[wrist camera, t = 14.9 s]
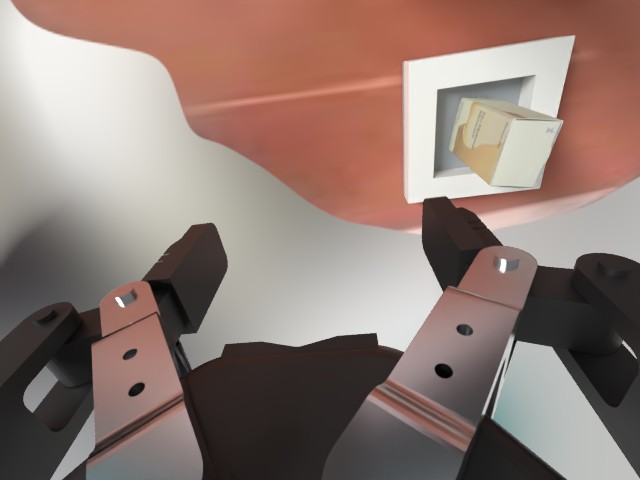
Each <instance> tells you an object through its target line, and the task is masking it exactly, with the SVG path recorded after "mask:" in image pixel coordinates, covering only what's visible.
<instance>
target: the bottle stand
mask: <svg viewBox="0 0 640 480" xmlns="http://www.w3.org/2000/svg"><path fill="white" fill-rule="evenodd" d="M574 39H575V35H572V36H559V37H550V38H544V39H538V40H531V41H525V42H519V43H513V44H507V45H500V46H494V47H488V48H482V49H476V50H469V51H463V52H457V53H451V54H444V55H438V56H432V57H426V58H420V59H413V60H407V61H402V115H403V194H404V196H405V198H406V200H407V202H408V204H409V203H417V202H423V201H424V199H425V198H433V197H442V196H447V197H448V199H452V198H461V197H469V196H478V195H487V194H496V193H504V192H513V191H522V190H530V189H517V188H504V187H491V186H490V185H488V184H487V183H486V182H485V181H484V180H483V179H482V178H481V177H479V176H478V175H477V174H476V173H475V172H474V171H473V170H472V169H470V168H469V167H468V166H467V165H466V164H465V163H464V162H462V161H461V160H460V159H459V158H458V157H457V156H456V155H455V154H453V153H452V152H451V151H450V150H449V144H450V139H451V135H452V130H453V126H454V122H455V119H456V115H457V111H458V108H459V104H460V101H461V98H462V97H485V98H497V99H500V100H503V101H506V102H509V103H512V104H515V105H518V106H521V107H524V108H527V109H530V110H533V111H536V112H539V113H542V114H545V115H548V116H551V117H554V118H556V117H557V113H558V108H559V104H560V100H561V95H562V91H563V87H564V83H565V78H566V74H567V70H568V65H569V61H570V57H571V52H572V48H573V44H574ZM544 169H545V166H544V168H543V170H542V173H541V175H540V177H539V180H538V182H537V184H536V187H535V188H534V189H539V188H540V186H541V182H542V177H543V173H544Z"/></svg>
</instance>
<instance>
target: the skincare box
mask: <svg viewBox="0 0 640 480" xmlns="http://www.w3.org/2000/svg"><path fill="white" fill-rule="evenodd" d="M562 124H563V120H560V119H557V118H554V117H551V116H548V115H545V114H542V113H539V112H536V111H533V110H530V109H527V108H524V107H521V106H518V105H515V104H512V103H509V102H506V101H503V100H500V99H497V98H485V97H462V98H461V101H460V104H459V108H458V111H457V115H456V119H455V122H454V126H453V130H452V135H451V139H450V144H449V150H450V151H451V152H452V153H453V154H455V155H456V156H457V157H458V158H459V159H460V160H461V161H462V162H464V163H465V164H466V165H467V166H468V167H469V168H470V169H472V170H473V171H474V172H475V173H476V174H477V175H478V176H479V177H481V178H482V179H483V180H484V181H485V182H486V183H487V184H488V185H490V186H491V187H504V188H517V189H534V188H535V187H536V184H537V182H538V180H539V177H540V175H541V173H542V170H543V168H544V166H545V164H546V162H547V160H548V158H549V155H550V153H551V150H552V147H553V145H554V143H555V140H556V138H557V135H558V133H559V131H560V129H561V126H562Z"/></svg>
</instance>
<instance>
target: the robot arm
mask: <svg viewBox="0 0 640 480" xmlns="http://www.w3.org/2000/svg"><path fill="white" fill-rule="evenodd" d="M422 244H423V249H424V252H425V254H426V256H427V258H428V261H429V263H430V265H431V267H432V269H433V271H434V273H435V276H436V278H437V280H438V282H439V284H440V286H441V288H442V290H443V294H442V296H441V297H440V299H439V300H438V302H437V304H436V305H435V306H434V308H433V310H432V311H431V313H430V314H429V316H428V317H427V319H426V320H425V322H424V323H423V325H422V326H421V328H420V329H419V331H418V333H417V334H416V336H415V337H414V339H413V340H412V342H411V343H410V345H409V346H408V348H407V349H406V351H405V352H402V351H400V350H397V349H393V348H390V347H386V346H380V345H378V340H377V334H376V333H371V334H357V335H344V336H336V337H332V338H329V339H325V340H322V341H319V342H315V343H312V344H308V345H304V346H301V347H293V346H286V345H279V344H273V343H266V342H249V343H236V344H226V345H225V347H224V350H223V352H222V355H221V357H219V358H216V359H213V360H211V361H208V362H206V363H204V364H202V365H200V366H198V367H197V368H195V369H193V370H192V368H191V366H190V363H189V361H188V358H187V356H186V354H185V351H184V349H183V346H182V344H181V342H180V341H179V338H180V336H181V334H191V333H197V331H198V329H199V327H200V325H201V323H202V321H203V319H204V316H205V315H206V313H207V310H208V308H209V306H210V304H211V302H212V300H213V298H214V296H215V294H216V292H217V290H218V288H219V286H220V284H221V282H222V279H223V277H224V275H225V273H226V271H227V267H228V264H227V263H228V262H227V256H226V253H225V251H224V248H223V245H222V242H221V239H220V236H219V234H218V231H217V228H216V226H215V225H214V224H213V223H206V224H198V225H192V226H191V227H190V228H189V230H188V231H187V232H186V233H185V234H184V236H183V237H182V238H181V239H180V240H178V241H177V242H175V243H174V244H172V245H171V246H170V247H169V248H168V249H167V250H166V252H165V253H164V256H162V257H161V258H160V259H159V260H158V262H157V263H156V264H155V265H154V266H153V267H152V268H151V270H150V271H149V272H148V273H147V274H146V275H145V277H144V278H143V279H142V280H141V281H135V282H131V283H128V284H125V285H122V286H120V287H118V288H116V289H115V290H113V291H112V292H110V293H109V294H108V295H107V296H105V297H104V299H103V300H102V301H101V303H100V307H99V308H96V309H92V310H89V311H86V312H82V313H78V312H77V311H76V309H75V308H74V306H73V305H72V304H71V303H69V302H59V303H55V304H52V305H49V306H46V307H44V308H42V309H40V310H38V311H36V312H35V313H33V314H31V315H30V316H28V317H27V318H26V319H24V320H23V321H22V322H21V323H20V324H19V325H18V326H17V327H16V328H14V329H13V330H12V331H11V332H10V333H9V334H8V335H7V336H6V337H5V338H3V339H2V340H1V341H0V480H50V479H51V477H52V476H53V474H54V472H55V471H56V469H57V467H58V466H59V464H60V463H61V461H62V459H63V458H64V456H65V455H66V453H67V451H68V450H69V448H70V446H71V445H72V443H73V442H74V440H75V438H76V437H77V435H78V433H79V432H80V430H81V429H82V427H83V425H84V424H85V422H86V420H87V419H88V417H89V415H90V414H91V412H92V411H93V409H94V423H95V448H94V451H93V452H91V453H90V455H89V457H88V458H87V459H86V460H85V461H83V462H82V464H80V465H79V466H78V467H76V468H75V469H74V470H73V471H72V472H71V473H69V474H68V475H67V476H66V477H65V478H64V479H63V480H567V479H566V478H564V477H563V476H562V475H561V474H559V473H558V472H557V471H556V470H554V469H553V468H552V467H551V466H550V465H548V464H547V463H546V462H544V461H543V460H542V459H541V458H540V457H538V456H537V455H536V454H535V453H534V452H532V451H531V450H530V449H528V448H527V447H526V446H525V445H524V444H522V443H521V442H520V441H519V440H517V439H516V438H515V437H514V436H513V435H511V434H510V433H509V432H507V431H506V430H505V429H504V428H503V427H501V426H500V425H499V424H498V423H496V422H495V421H494V420H493V416H494V413H495V410H496V406H497V403H498V400H499V396H500V393H501V390H502V387H503V384H504V381H505V378H506V375H507V372H508V369H509V366H510V363H511V360H512V357H513V354H514V351H515V348H516V345H517V342H518V341H522V342H528V343H533V344H539V345H545V346H551V347H553V349H554V351H555V352H556V354H557V355H558V357H559V358H560V360H561V361H562V363H563V364H564V366H565V367H566V368H567V370H568V372H569V373H570V374H571V376H572V378H573V379H574V381H575V382H576V383H577V385H578V387H579V388H580V390H581V391H582V393H583V394H584V395H585V397H586V399H587V400H588V402H589V403H590V405H591V406H592V408H593V409H594V410H595V412H596V413H597V415H598V416H599V418H600V419H601V421H602V422H603V424H604V425H605V427H606V428H607V430H608V431H609V433H610V434H611V436H612V437H613V439H614V440H615V442H616V443H617V445H618V446H619V448H620V449H621V450H622V452H623V454H624V455H625V457H626V458H627V460H628V461H629V463H630V464H631V466H632V467H633V469H634V470H635V471H636V473H637V475H638V476H639V478H640V263H637V262H636V261H633V260H631V259H628V258H625V257H622V256H618V255H613V254H606V253H591V254H585V255H582V256H580V257H579V258H578V259H577V260H576V264H575V266H574V269H565V268H553V267H545V266H539V265H538V264H537V261H536V259H535V258H534V257H533V256H532V255H531V254H529V253H527V252H525V251H523V250H521V249H518V248H514V247H509V246H503V245H502V244H501V242H500V241H499V240H498V239H497V238H496V237H495V236H494V235H493V233H492V232H491V231H490V230H489V229H487V227H486V226H485V224H484V223H483V222H481V220H480V219H479V218H478V217H477V216H476V214H475V213H473V212H471V211H469V210H467V209H465V208H463V207H462V208H456V207H455V206H454V205H453V204H452V202H451V201H450V200H449V199H448V197H447V196H442V197H433V198H425V199H424V201H423V215H422ZM623 340H624V341H625V342H626V343H627V344H628V346H629V347H630V348H631V349H632V350H633V352H634V353H635V355H636V357H637V359H636V358H635V357H634V356H633V355H632V354H631V353H630V352H629V351H628V349H627V348H626V347H625V346H624V345H623V344H622V341H623ZM44 366H46V367H47V368H48V369H49V370H50V371H51V372H52V373H53V374H54V375H55V376H56V378H57V379H58V382H57V383H56V384H55V385H54V386H53V388H52V389H51V390H50V392H49V393H48V394H47V396H46V397H45V398H44V399H43V401H42V402H41V403H40V405H39V406H38V407H37V408H36V410H35V411H34V412H33V413H31V411H29V410H28V409H27V408H26V407H25V405H24V402H23V395H24V392H25V390H26V388H27V386H28V385H29V384H30V383H31V381H32V380H33V379H34V378H35V377H36V376H37V375H38V373H39V372H40V371H41V370H42V369H43V367H44Z"/></svg>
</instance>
